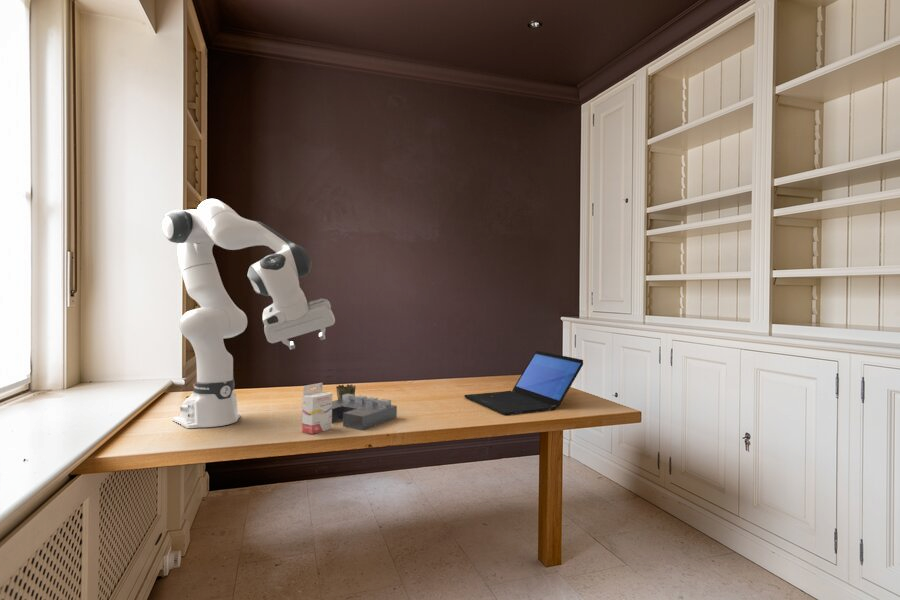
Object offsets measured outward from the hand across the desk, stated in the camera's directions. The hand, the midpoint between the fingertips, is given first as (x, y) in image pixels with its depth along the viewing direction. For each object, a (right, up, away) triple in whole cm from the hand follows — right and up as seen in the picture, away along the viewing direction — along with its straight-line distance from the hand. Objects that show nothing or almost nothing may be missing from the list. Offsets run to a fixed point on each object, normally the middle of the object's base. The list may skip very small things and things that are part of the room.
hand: (307, 343), depth 148 cm
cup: (+3, -29, +41) cm, 50 cm away
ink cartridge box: (+1, -29, +7) cm, 30 cm away
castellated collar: (+10, -29, +23) cm, 38 cm away
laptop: (+73, -30, +51) cm, 94 cm away
